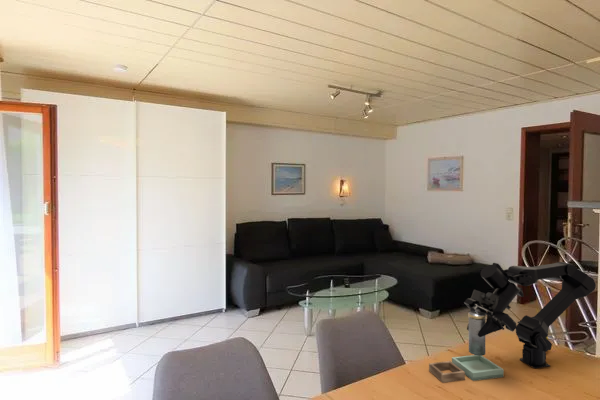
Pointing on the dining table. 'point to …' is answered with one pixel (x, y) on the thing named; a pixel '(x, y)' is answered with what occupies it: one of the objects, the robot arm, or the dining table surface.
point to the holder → (446, 377)
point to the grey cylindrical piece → (476, 333)
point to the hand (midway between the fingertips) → (473, 333)
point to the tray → (478, 367)
